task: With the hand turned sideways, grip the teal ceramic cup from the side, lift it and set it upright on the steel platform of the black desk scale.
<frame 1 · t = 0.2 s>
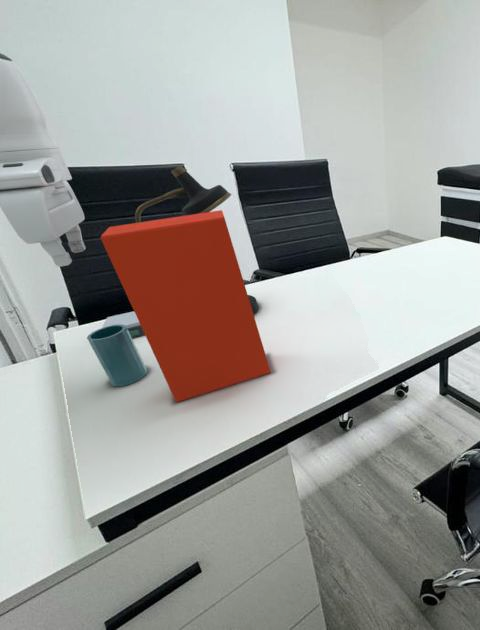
hand: (72, 257, 65), 27 cm above the table, tool pointing down, fingers open, 8 cm apart
scale: (134, 329, 102), on the table
cup: (129, 377, 82), on the table
lamp: (221, 316, 106), on the table
file binder: (224, 378, 79), on the table
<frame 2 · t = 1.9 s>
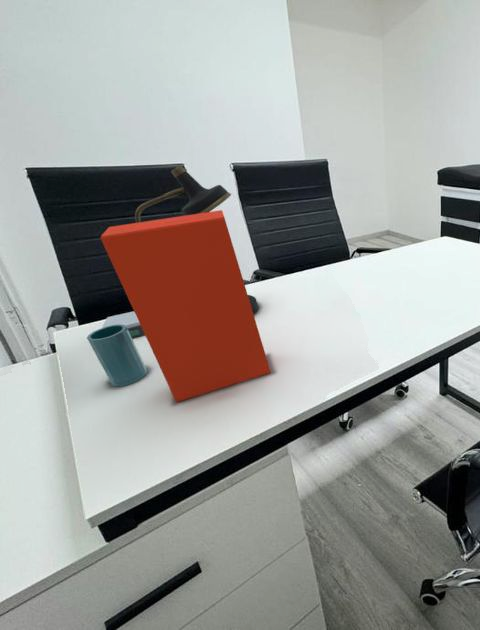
nothing on the table moved.
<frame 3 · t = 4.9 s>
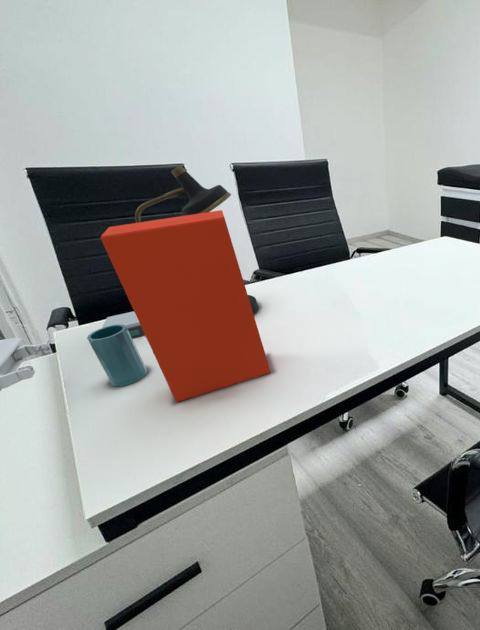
hand: (40, 358, 73), 9 cm above the table, tool horizontal, fingers open, 8 cm apart
nothing on the table moved.
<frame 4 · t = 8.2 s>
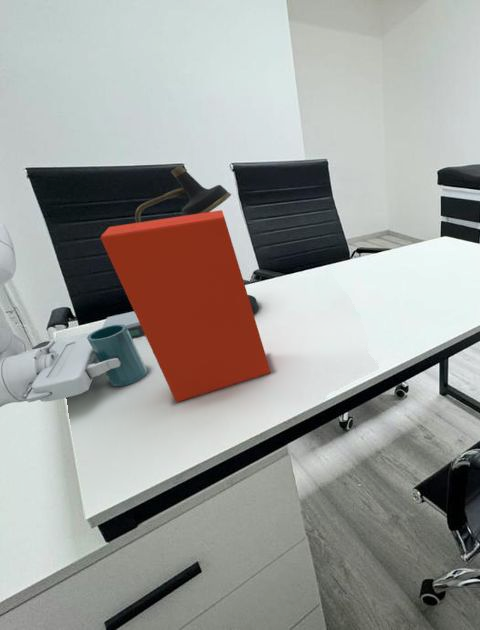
hand: (122, 351, 79), 6 cm above the table, tool horizontal, fingers closed on cup, 6 cm apart
cup: (129, 377, 82), on the table, touching gripper
everything else where it was.
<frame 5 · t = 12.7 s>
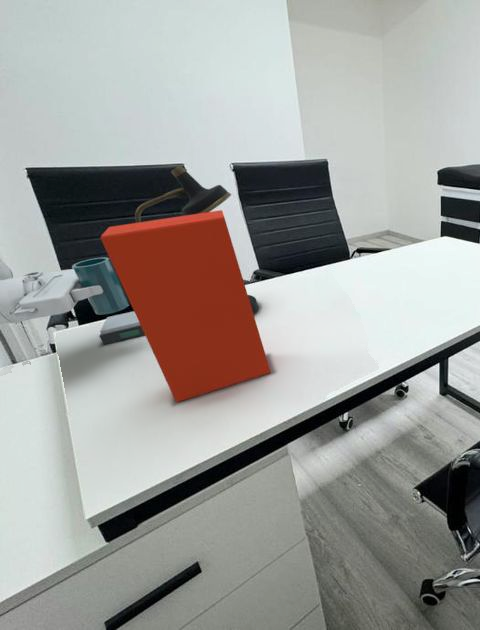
hand: (105, 282, 85), 17 cm above the table, tool horizontal, fingers closed on cup, 6 cm apart
cup: (112, 308, 87), point 11 cm above the table, touching gripper
everything else where it was.
when the fingers open (10 cm above the table, at t = 17.2 s): cup stays where it is, resting on scale.
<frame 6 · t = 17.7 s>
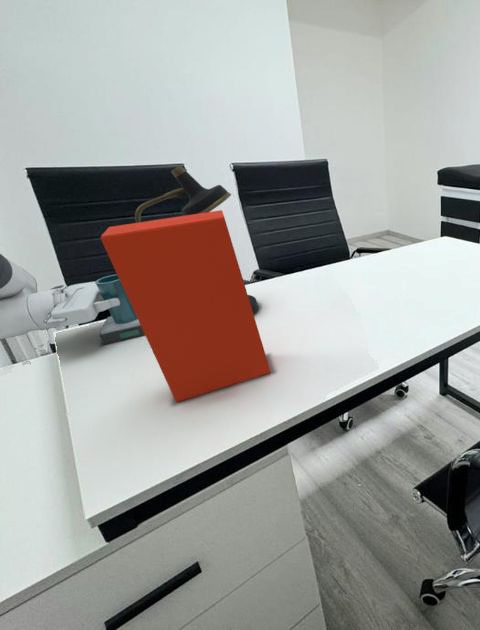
hand: (122, 294, 97), 10 cm above the table, tool horizontal, fingers open, 8 cm apart
cup: (129, 318, 100), point 3 cm above the table, touching scale
everything else where it was.
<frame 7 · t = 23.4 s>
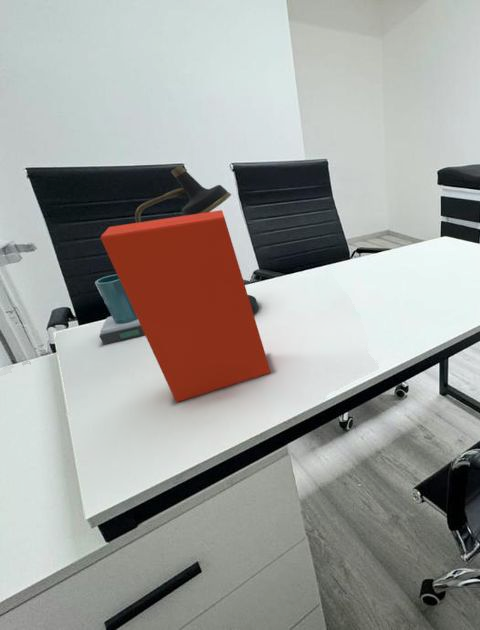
hand: (27, 251, 86), 24 cm above the table, tool horizontal, fingers open, 8 cm apart
nothing on the table moved.
at the end: cup inside the target area on the scale (0.1 cm from its centre), point 3.5 cm above the scale's base; cup tilted 0°; the gripper is holding nothing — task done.
